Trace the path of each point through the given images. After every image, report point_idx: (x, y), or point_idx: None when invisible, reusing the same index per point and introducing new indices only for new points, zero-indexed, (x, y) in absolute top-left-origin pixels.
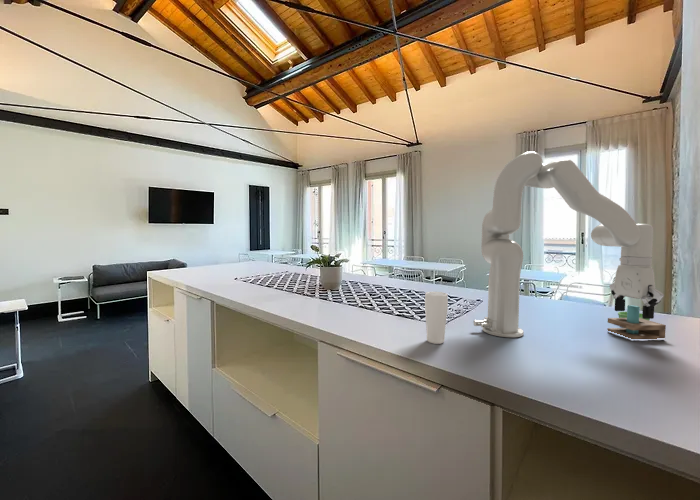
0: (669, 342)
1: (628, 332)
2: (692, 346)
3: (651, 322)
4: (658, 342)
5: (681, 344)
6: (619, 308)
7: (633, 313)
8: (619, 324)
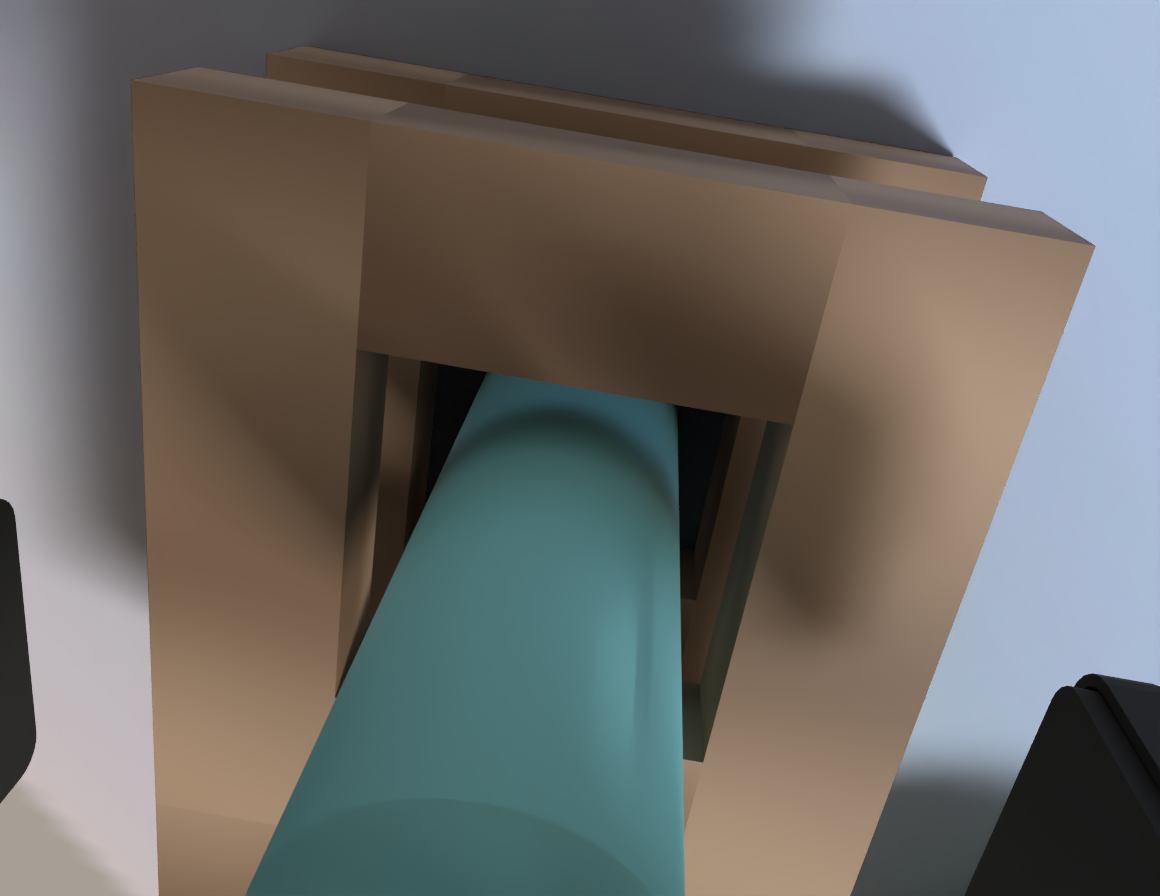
0: None
1: None
2: None
3: None
4: None
5: (106, 719)
6: (1055, 828)
7: (387, 635)
8: (621, 145)
